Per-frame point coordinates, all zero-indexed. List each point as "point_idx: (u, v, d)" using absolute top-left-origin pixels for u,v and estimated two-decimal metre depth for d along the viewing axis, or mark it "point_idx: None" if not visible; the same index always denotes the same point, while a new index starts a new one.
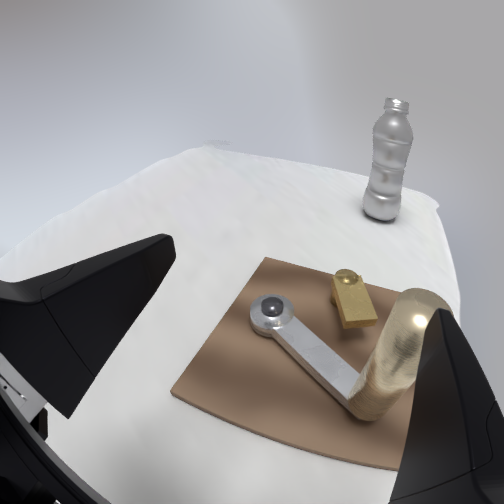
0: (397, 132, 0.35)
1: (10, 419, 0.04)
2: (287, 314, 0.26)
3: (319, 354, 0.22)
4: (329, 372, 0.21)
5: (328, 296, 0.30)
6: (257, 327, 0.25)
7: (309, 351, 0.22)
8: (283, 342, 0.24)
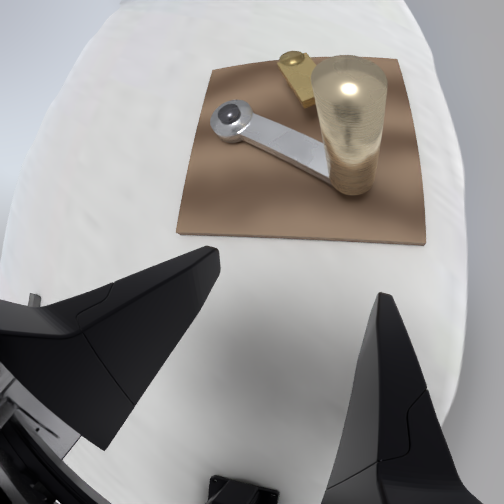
0: None
1: (53, 472, 0.03)
2: (245, 114, 0.24)
3: (288, 140, 0.22)
4: (303, 155, 0.21)
5: (285, 81, 0.26)
6: (224, 138, 0.25)
7: (277, 141, 0.22)
8: (252, 141, 0.24)
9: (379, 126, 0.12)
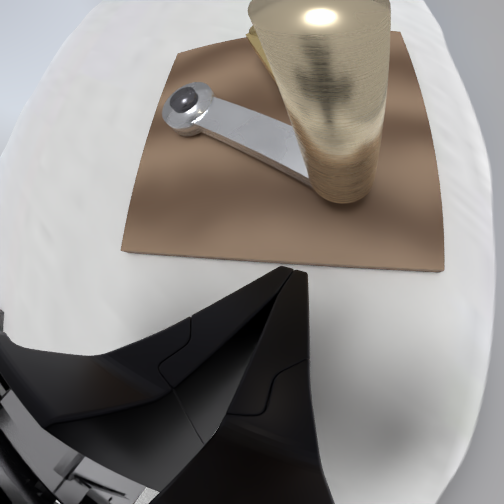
0: None
1: None
2: (204, 98, 0.18)
3: (255, 129, 0.16)
4: (273, 147, 0.15)
5: (259, 59, 0.20)
6: (178, 130, 0.19)
7: (241, 130, 0.16)
8: (210, 132, 0.18)
9: (381, 86, 0.06)
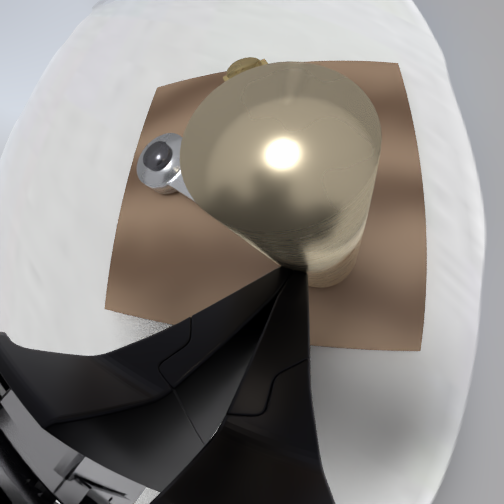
0: None
1: None
2: (178, 155, 0.17)
3: None
4: None
5: None
6: (154, 189, 0.19)
7: None
8: (185, 195, 0.17)
9: (357, 230, 0.06)
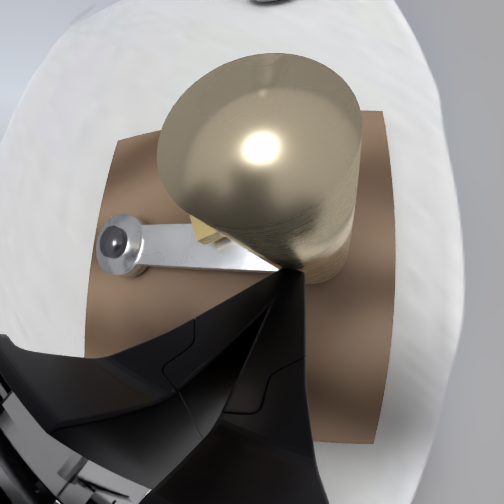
0: None
1: None
2: (132, 231, 0.17)
3: None
4: (232, 256, 0.15)
5: None
6: (125, 275, 0.17)
7: (189, 251, 0.16)
8: (158, 266, 0.17)
9: None
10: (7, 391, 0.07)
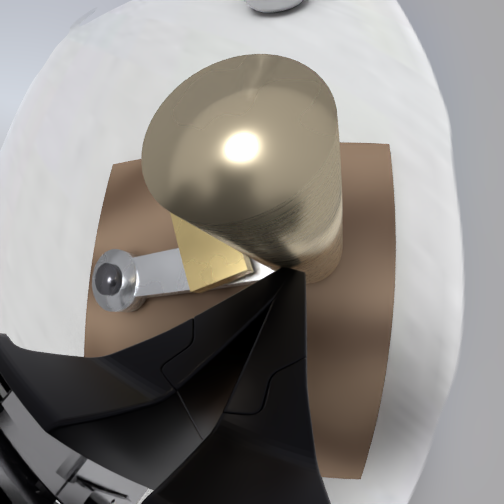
0: None
1: None
2: (125, 265, 0.17)
3: None
4: None
5: None
6: (126, 310, 0.17)
7: (185, 275, 0.15)
8: (157, 294, 0.16)
9: None
10: (7, 391, 0.07)
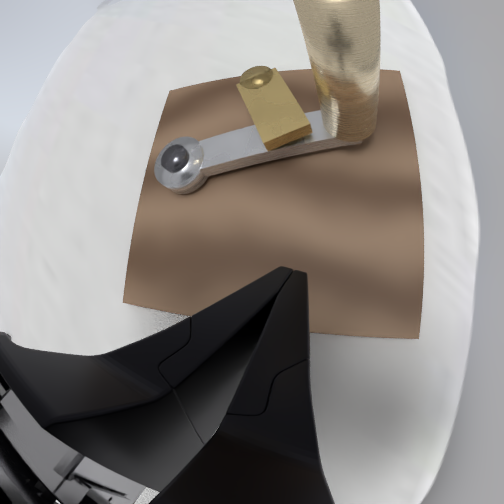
0: None
1: None
2: (193, 146, 0.19)
3: None
4: None
5: None
6: (188, 187, 0.20)
7: (251, 144, 0.18)
8: (222, 166, 0.19)
9: None
10: None
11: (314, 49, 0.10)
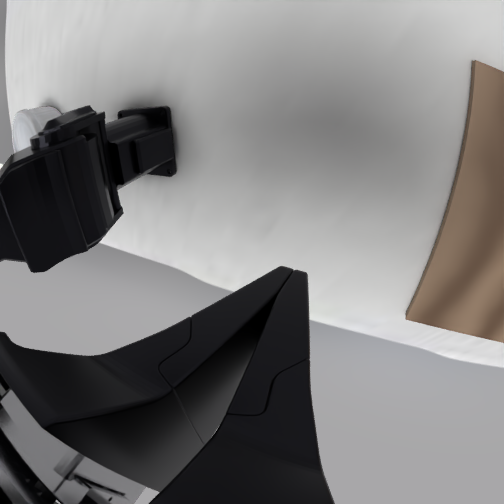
0: None
1: None
2: None
3: None
4: None
5: None
6: None
7: None
8: None
9: None
10: None
11: None
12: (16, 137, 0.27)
